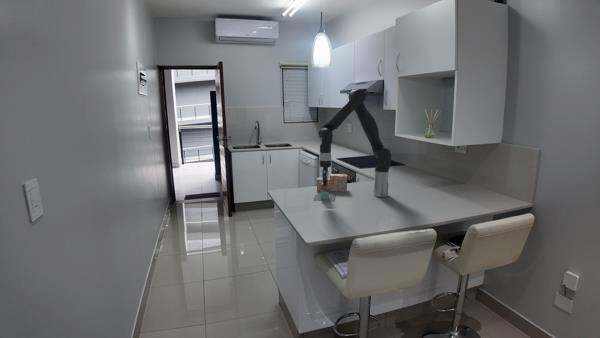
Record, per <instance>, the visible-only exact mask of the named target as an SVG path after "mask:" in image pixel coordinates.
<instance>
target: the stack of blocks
mask: <svg viewBox="0 0 600 338" xmlns="http://www.w3.org/2000/svg"><path fill="white" fill-rule="evenodd" d="M322 178H323V177H316V191H319V192H321V183H322V182H323V179H322ZM327 183H329V192H343V193H344V192H348V174H345V173H344V174H343V173H329V177H328V182H327Z"/></svg>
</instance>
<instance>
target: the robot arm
mask: <svg viewBox="0 0 600 338" xmlns="http://www.w3.org/2000/svg"><path fill="white" fill-rule="evenodd" d="M366 99H367V92H366V91H365V90H364V89H362V88H355V89H352V90H351V91H349V93H348V102H347V103H345V105H344V106H342V107H341V108H340V109H339V110H337V112H336V113H334V115H333V116H332V117H331V118H330V119H329V120H328V122H326V123H325V124H324V125H322V127H321V128H320V129H319V131H318V137H319V138H320V139H321V143H320V145H319V167H320V168H322V170H321V172H322V173H321V174H322V175H321V176H322V177H321V178H322V179H323V185H324V186H326V185H327V182H328V178H329V177H328V176H329V168H331V167H332V142H333V138H334V137H333V131H334V130H337V129H338V128H339V127H340V126H341V125H342V124H343V122H344V121H345V120H346V119H347V118H348V117H349V116H350V115H351V114H352V112H354V111H355V113H356V116H357V118H358V120H359V123H360V126H361V127H362V130H363V132H364V134H365V136H366V138H367V140H368V141H369V145H370V146H371V150H372V153H373V156H374V158H375V159H376V162H377V163H376V166H375V167H374V177H373V178H374V183H373V196H374V197H378V198H387V197H388V196H389V176H390V175H389V174H390V173H389V172H390V168H391V161H392V152H391V150H390V149H389V148H386V147H385V146H384V144H383V143H382V141H381V138H380V131H379V127H378V124H377V122H376V120H375V118H374V116H373V115H372V114H371V112H370V111H369V110H368V109H367V107H366V105H365V101H366Z"/></svg>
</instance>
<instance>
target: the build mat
mask: <svg viewBox="0 0 600 338" xmlns="http://www.w3.org/2000/svg"><path fill="white" fill-rule="evenodd" d="M336 198H337V196H336V195H333V194H332V195H330V194H329V199H321V194H315V195H314V197H313V199H312V201H313V202H330V203H331V202H333V203H335V202H336Z"/></svg>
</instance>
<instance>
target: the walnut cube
mask: <svg viewBox="0 0 600 338" xmlns="http://www.w3.org/2000/svg"><path fill="white" fill-rule="evenodd" d="M321 192H329V193H330V191H329V183H327V185H326V186H324V185H323V182H322V183H321V191H320V193H321Z"/></svg>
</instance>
